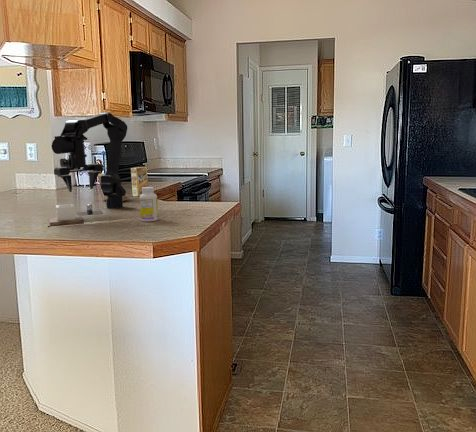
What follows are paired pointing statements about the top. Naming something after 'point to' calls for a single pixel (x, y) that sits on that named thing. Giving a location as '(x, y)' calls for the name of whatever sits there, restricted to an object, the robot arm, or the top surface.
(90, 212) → the stand
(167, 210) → the top surface
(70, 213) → the collar
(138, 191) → the candy box
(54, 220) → the hub
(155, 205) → the supplement bottle
